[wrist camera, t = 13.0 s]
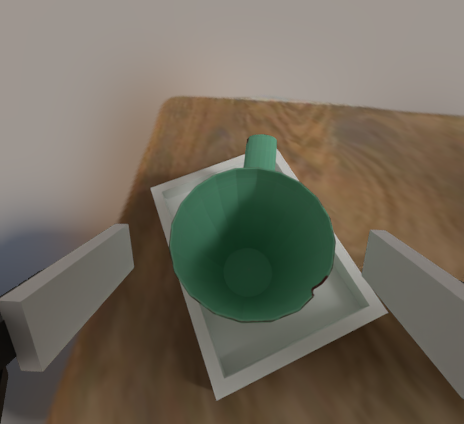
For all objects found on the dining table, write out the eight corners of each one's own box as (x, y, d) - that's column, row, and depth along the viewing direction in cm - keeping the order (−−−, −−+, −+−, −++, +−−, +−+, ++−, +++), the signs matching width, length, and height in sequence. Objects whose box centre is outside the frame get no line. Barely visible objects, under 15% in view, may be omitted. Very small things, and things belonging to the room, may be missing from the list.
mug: (299, 336, 20) (342, 337, 11) (187, 320, 21) (147, 309, 12) (299, 191, 27) (327, 120, 18) (214, 183, 28) (201, 113, 19)
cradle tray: (271, 157, 30) (273, 143, 28) (373, 315, 22) (388, 312, 19) (157, 199, 28) (150, 188, 26) (219, 393, 19) (216, 400, 17)
